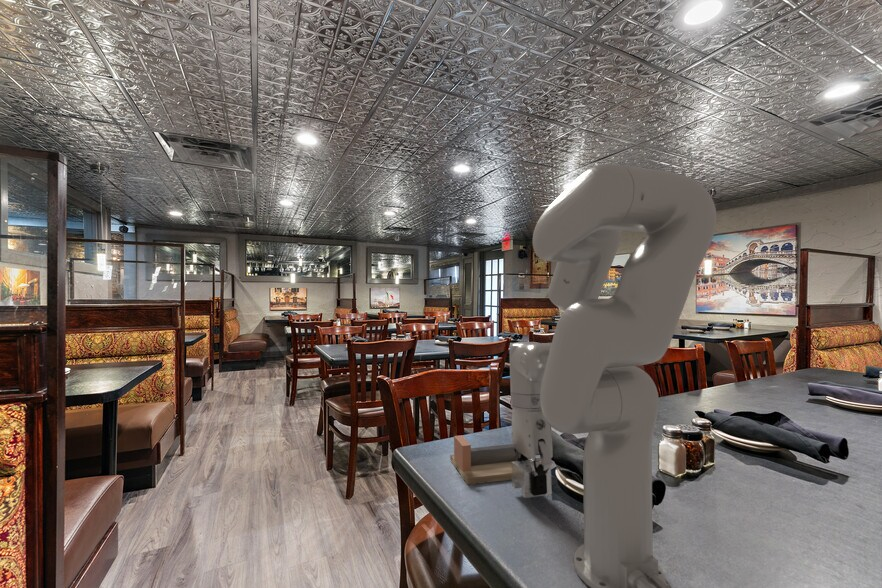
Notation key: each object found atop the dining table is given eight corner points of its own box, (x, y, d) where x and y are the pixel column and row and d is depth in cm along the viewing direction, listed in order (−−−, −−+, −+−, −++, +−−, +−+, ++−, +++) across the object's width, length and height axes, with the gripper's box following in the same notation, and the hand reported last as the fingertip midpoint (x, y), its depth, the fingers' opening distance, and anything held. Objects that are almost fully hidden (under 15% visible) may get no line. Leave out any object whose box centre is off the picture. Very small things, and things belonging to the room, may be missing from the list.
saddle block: (551, 494, 79) (550, 469, 79) (524, 498, 78) (524, 472, 78) (537, 482, 85) (536, 459, 85) (512, 485, 83) (511, 461, 84)
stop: (470, 470, 91) (470, 445, 91) (462, 471, 91) (462, 445, 91) (461, 459, 98) (461, 435, 98) (454, 460, 97) (454, 436, 98)
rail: (523, 460, 97) (523, 446, 97) (467, 466, 94) (467, 451, 94) (520, 457, 99) (520, 443, 99) (464, 463, 96) (464, 448, 96)
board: (539, 475, 92) (539, 469, 92) (467, 484, 87) (467, 478, 87) (513, 453, 105) (513, 448, 105) (450, 460, 101) (450, 454, 101)
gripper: (567, 407, 75) (570, 503, 74) (526, 392, 92) (528, 470, 90) (531, 410, 73) (535, 509, 72) (496, 394, 90) (498, 473, 89)
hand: (531, 486), depth 81 cm, fingers closed on saddle block, 6 cm apart
